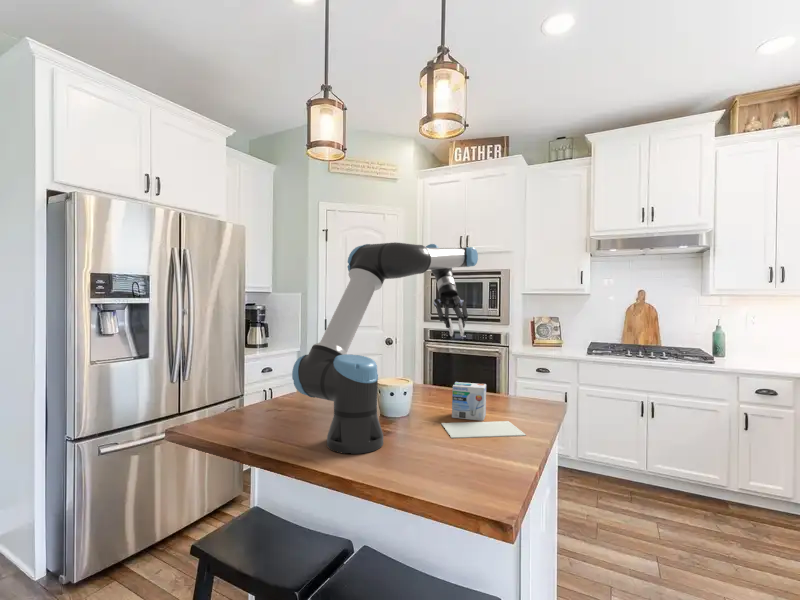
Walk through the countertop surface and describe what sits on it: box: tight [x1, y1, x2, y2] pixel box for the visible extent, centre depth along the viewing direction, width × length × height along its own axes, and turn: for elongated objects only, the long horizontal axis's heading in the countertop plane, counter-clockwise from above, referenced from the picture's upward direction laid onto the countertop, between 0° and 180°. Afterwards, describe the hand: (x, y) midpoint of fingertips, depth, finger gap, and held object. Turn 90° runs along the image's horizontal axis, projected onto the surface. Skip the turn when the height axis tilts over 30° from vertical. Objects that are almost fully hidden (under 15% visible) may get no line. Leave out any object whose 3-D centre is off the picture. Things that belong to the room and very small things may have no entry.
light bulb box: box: [451, 381, 487, 422], centre depth 138 cm, size 11×7×11 cm, turn 73°
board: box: [441, 420, 527, 439], centre depth 125 cm, size 22×13×1 cm, turn 97°
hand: (457, 333), depth 154 cm, fingers open, 3 cm apart
